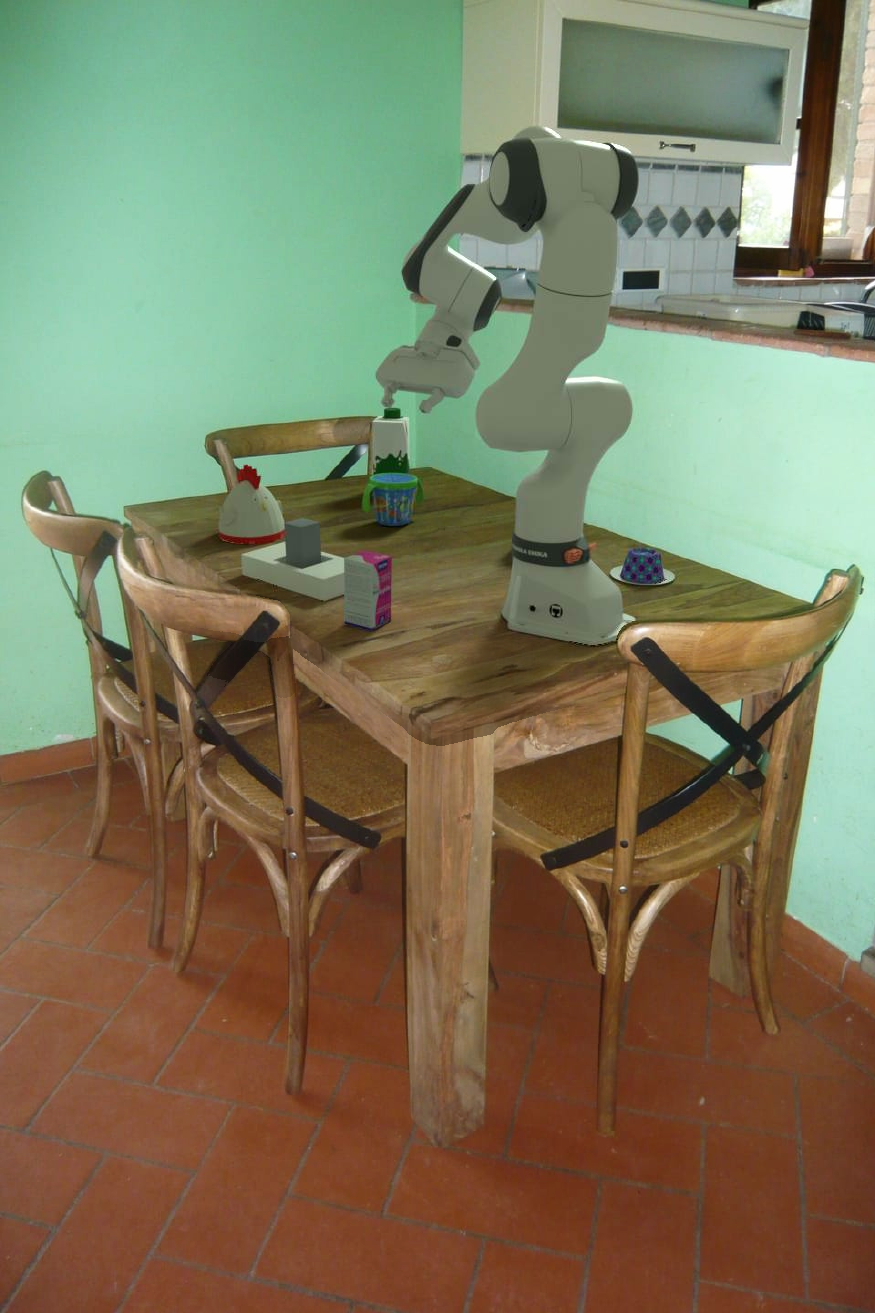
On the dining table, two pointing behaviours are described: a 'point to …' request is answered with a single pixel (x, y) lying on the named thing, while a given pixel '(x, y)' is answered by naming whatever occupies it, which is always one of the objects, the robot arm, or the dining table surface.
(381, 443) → the milk carton
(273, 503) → the kitchen timer
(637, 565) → the pudding
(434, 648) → the dining table surface
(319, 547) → the charcoal peg
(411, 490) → the snack cup
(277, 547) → the white socket block
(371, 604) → the supplement box
